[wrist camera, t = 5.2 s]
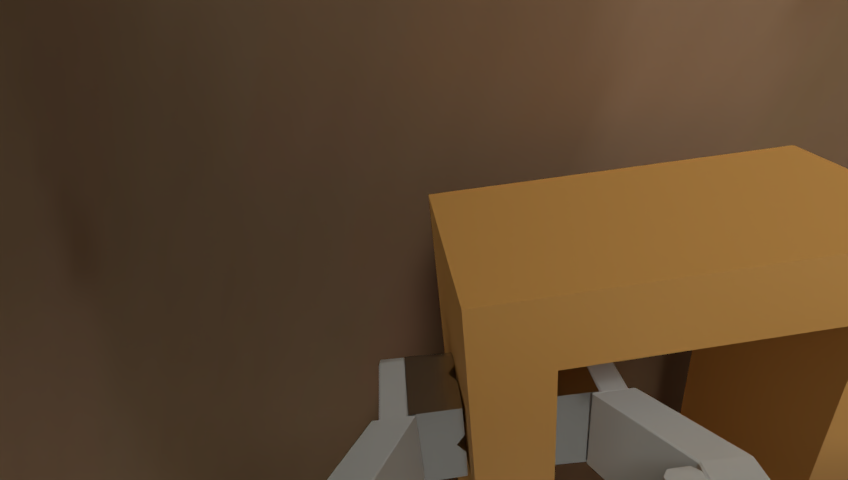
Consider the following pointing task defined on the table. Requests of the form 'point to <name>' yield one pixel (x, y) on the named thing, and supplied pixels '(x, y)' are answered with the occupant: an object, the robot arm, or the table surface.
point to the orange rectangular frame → (654, 302)
